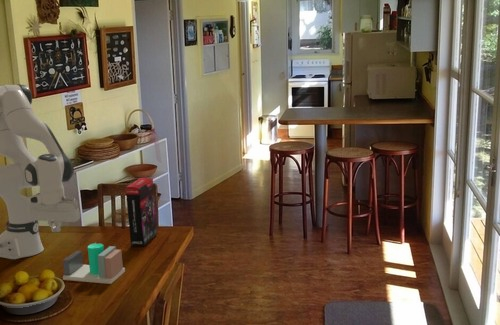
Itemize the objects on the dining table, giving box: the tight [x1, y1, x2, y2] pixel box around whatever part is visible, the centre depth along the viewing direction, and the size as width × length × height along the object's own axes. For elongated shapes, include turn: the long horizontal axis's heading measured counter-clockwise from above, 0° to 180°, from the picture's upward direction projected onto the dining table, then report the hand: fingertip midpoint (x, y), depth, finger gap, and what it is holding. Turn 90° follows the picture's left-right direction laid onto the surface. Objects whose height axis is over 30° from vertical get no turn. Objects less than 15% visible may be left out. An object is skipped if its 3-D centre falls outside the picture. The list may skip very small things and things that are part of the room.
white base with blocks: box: [62, 245, 126, 285], centre depth 231 cm, size 20×12×10 cm, turn 76°
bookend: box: [62, 250, 84, 276], centre depth 233 cm, size 2×10×6 cm, turn 166°
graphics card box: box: [125, 177, 158, 248], centre depth 266 cm, size 17×7×27 cm, turn 168°
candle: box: [87, 242, 105, 274], centre depth 231 cm, size 6×6×12 cm
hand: (56, 231), depth 232 cm, fingers closed
